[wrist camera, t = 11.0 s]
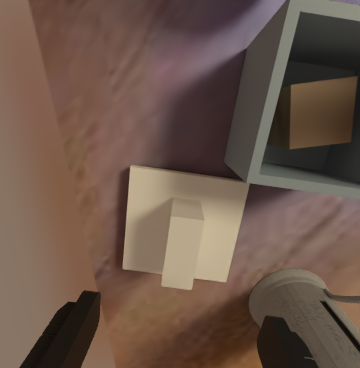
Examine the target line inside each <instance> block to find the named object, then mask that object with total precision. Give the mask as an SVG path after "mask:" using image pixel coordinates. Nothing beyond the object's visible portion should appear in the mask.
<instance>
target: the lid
mask: <svg viewBox="0 0 360 368" xmlns="http://www.w3.org/2000/svg"><path fill="white" fill-rule="evenodd" d="M249 186H250V183H246V182H245V181H244V180H236V179H229V178H222V177H215V176H208V175H201V174H194V173H187V172H180V171H173V170H166V169H158V168H151V167H144V166H137V165H132V166H130V178H129V191H128V204H127V217H126V230H125V243H124V256H123V269H126V270H134V271H142V272H150V273H157V274H163V276H162V283H161V286H164V287H172V288H180V289H188V290H192V285H193V280H194V278H196V279H204V280H212V281H220V282H226V280H227V276H228V272H229V268H230V264H231V260H232V256H233V251H234V247H235V243H236V239H237V235H238V231H239V227H240V223H241V219H242V214H243V210H244V206H245V202H246V198H247V194H248V190H249Z"/></svg>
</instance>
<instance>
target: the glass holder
mask: <svg viewBox="0 0 360 368" xmlns="http://www.w3.org/2000/svg"><path fill="white" fill-rule="evenodd" d="M333 299H334V300H336V301H340V302H347V303H360V296H338V295H333V294H332V293H331V292H330V291H329V290H328V289H327V287H326V285H325V283H324V282H323V280H322V279H321V278H320V277H318V276H317V275H316V274H314V273H312V272H310V271H307V270H303V269H284V270H280V271H276V272H274V273H272V274H269V275H268V276H266V277H264V278H263V279H262V280H261V281H260V282H258V284H257V285H256V286H255V287H254V289H253V290H252V292H251V294H250V297H249V303H248V304H249V311H250V314H251V316H252V318H253V319H254V321H255V322H256V323H257V324H258V325H259V326H260V329H261V326H262V323H263V320H264V318H265V316H266V315H268V316H276V317H282V318H284V319H285V321H286V323H287V325H288V327H289V329H290V331H291V332H296V333H297V334H298V336H299V337H300V338H301V339H302V340H303V341H304V342H305V344H306V345H307V347H308V349H309V350H310V352H311V354H312V356H313V359H314V360H315V361H316V363H317V365H318V367H319V368H360V330H359V329H358V328H357V327H356V325H355V324H354V323H353V322H352V321H351V320H350V318H349V317H348V316H347V315H346V314H345V313H344V311H343V310H342V309H341V308H340V307H339V306H338V304H337V303H336V302H335V301H334V300H333Z"/></svg>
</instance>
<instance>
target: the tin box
mask: <svg viewBox="0 0 360 368" xmlns="http://www.w3.org/2000/svg"><path fill="white" fill-rule="evenodd" d="M355 76H358V77H357V87H356V97H355V106H354V116H353V126H352V136H351V142H348V143H340V144H331V145H322V146H314V147H305V148H297V149H286V148H282V147H277V146H273V145H268V144H267V140H268V136H269V132H270V128H271V124H272V120H273V116H274V113H275V109H276V105H277V101H278V97H279V93H280V89H281V88H284V87H287V86H289V85H294V84H301V83H309V82H317V81H324V80H332V79H340V78H347V77H355ZM224 163H225V164H226V165H227V166H228V167H230V168H231V169H232V170H233V171H234V172H235V173H236V174H237V175H238V176H239V177H241V178H242V179H243V180H244V181H245V182H246V183H252V184H259V185H266V186H273V187H280V188H287V189H294V190H301V191H308V192H315V193H322V194H329V195H336V196H343V197H350V198H357V199H360V5H354V4H348V3H342V2H336V1H330V0H286V1H285V3H284V4H283V5H282V6H281V7H280V9H279V10H278V11H277V12H276V13H275V15H274V16H273V17H272V18H271V19H270V21H269V22H268V23H267V24H266V25H265V27H264V28H263V29H262V30H261V31H260V33H259V34H258V35H257V36H256V38H255V39H254V40H253V41H252V42H251V44H250V45H249V46H248V47H247V50H246V55H245V60H244V65H243V70H242V74H241V79H240V84H239V89H238V94H237V99H236V104H235V109H234V114H233V119H232V124H231V129H230V134H229V138H228V143H227V148H226V153H225V158H224Z"/></svg>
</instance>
